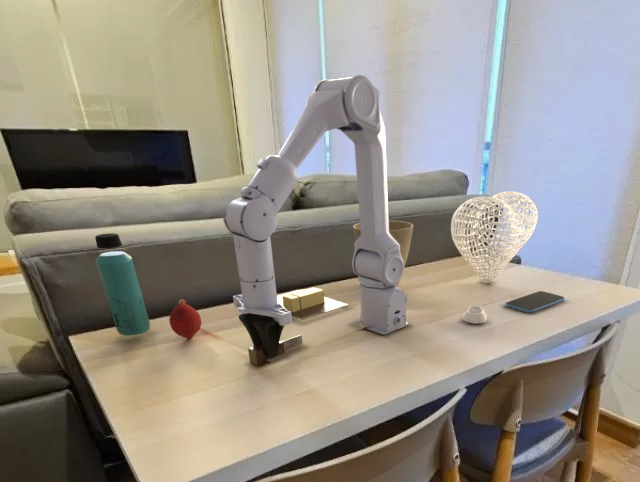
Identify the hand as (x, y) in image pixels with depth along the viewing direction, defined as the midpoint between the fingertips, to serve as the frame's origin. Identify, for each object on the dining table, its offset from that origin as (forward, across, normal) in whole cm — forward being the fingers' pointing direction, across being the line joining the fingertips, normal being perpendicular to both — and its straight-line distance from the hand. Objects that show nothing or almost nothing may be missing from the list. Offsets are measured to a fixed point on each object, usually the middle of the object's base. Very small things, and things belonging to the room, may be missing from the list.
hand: (266, 353), depth 83 cm
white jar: (+2, +16, +43) cm, 46 cm away
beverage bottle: (+2, -29, -12) cm, 31 cm away
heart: (+2, +2, +71) cm, 71 cm away
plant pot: (+2, -15, +47) cm, 49 cm away
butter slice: (0, -17, +19) cm, 25 cm away
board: (+1, -19, +23) cm, 30 cm away
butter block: (0, -17, +24) cm, 29 cm away
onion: (+2, -20, -5) cm, 21 cm away
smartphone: (+1, +20, +63) cm, 66 cm away
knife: (+1, 0, +3) cm, 3 cm away
